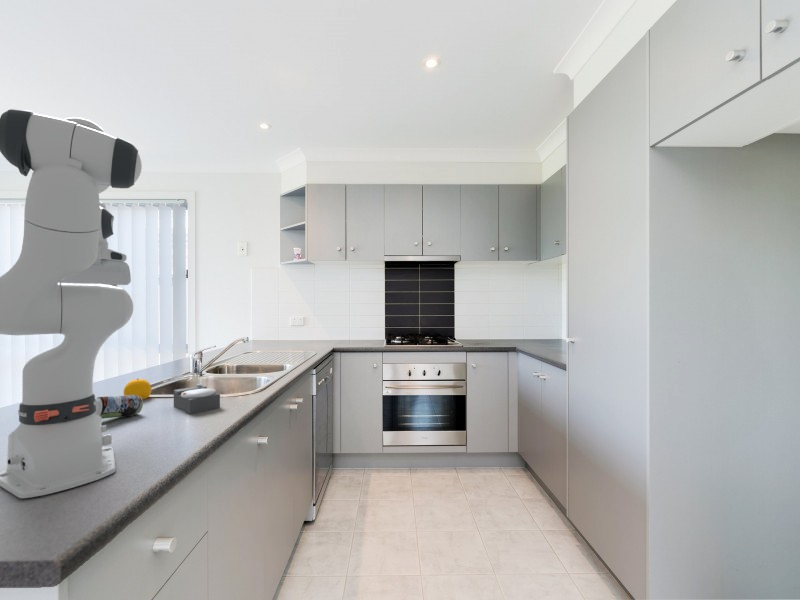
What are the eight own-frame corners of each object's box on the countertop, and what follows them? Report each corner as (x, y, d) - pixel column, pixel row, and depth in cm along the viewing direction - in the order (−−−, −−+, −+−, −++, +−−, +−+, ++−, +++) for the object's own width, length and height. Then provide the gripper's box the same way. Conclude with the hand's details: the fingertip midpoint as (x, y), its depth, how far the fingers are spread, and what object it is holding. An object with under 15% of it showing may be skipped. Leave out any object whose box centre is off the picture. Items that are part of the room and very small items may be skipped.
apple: (121, 404, 124) (122, 382, 124) (125, 399, 131) (125, 378, 131) (150, 401, 128) (150, 379, 129) (152, 396, 135) (152, 375, 135)
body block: (220, 407, 120) (220, 388, 120) (188, 414, 112) (188, 393, 112) (203, 401, 128) (203, 382, 128) (172, 407, 121) (172, 387, 121)
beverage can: (89, 395, 105) (136, 386, 115) (86, 419, 106) (133, 408, 116) (99, 403, 102) (146, 393, 112) (96, 428, 103) (143, 416, 113)
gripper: (44, 249, 103) (44, 298, 103) (132, 256, 119) (132, 299, 119) (41, 251, 107) (40, 299, 107) (126, 257, 123) (126, 299, 123)
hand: (89, 299), depth 113 cm, fingers open, 8 cm apart
